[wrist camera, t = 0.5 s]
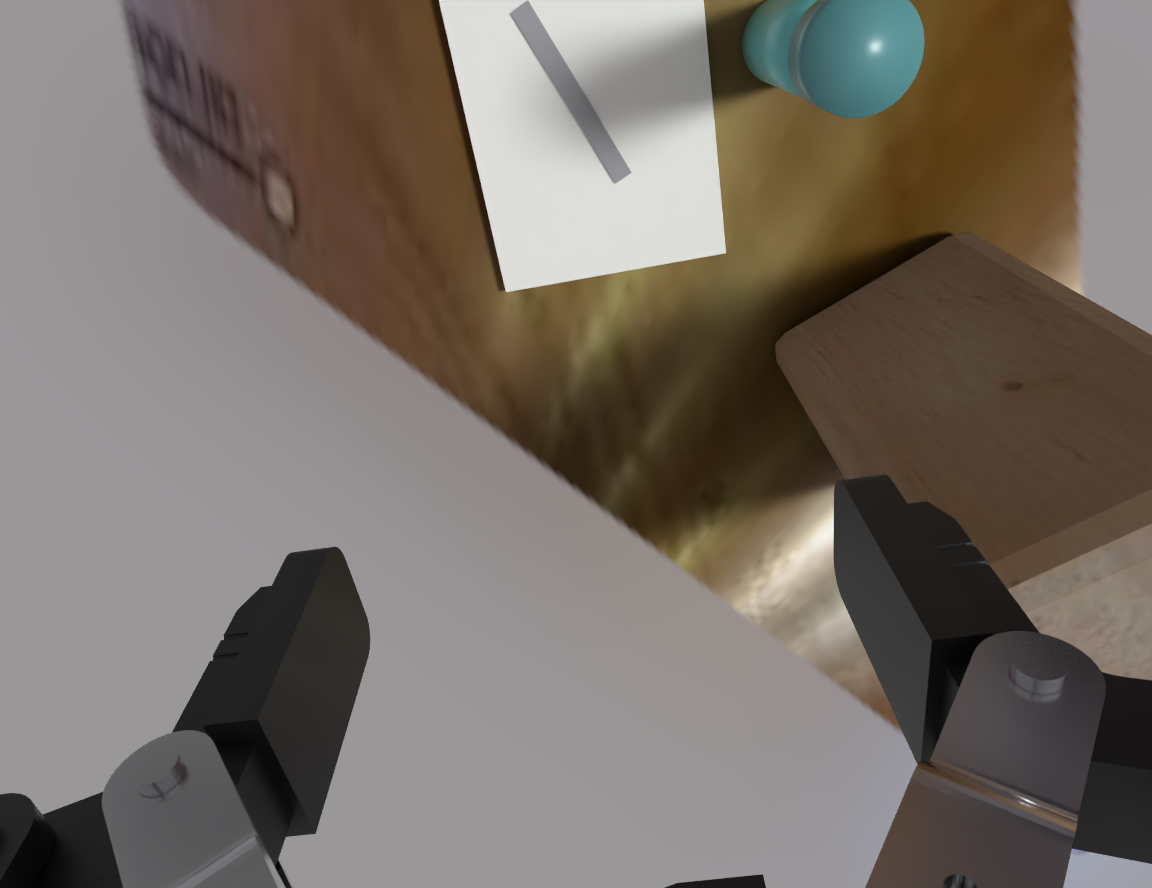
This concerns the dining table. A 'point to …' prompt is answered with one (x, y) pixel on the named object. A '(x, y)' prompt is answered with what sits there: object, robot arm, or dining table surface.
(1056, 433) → the wooden block
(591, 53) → the pad
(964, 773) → the robot arm
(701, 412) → the dining table surface
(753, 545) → the dining table surface
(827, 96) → the marker
